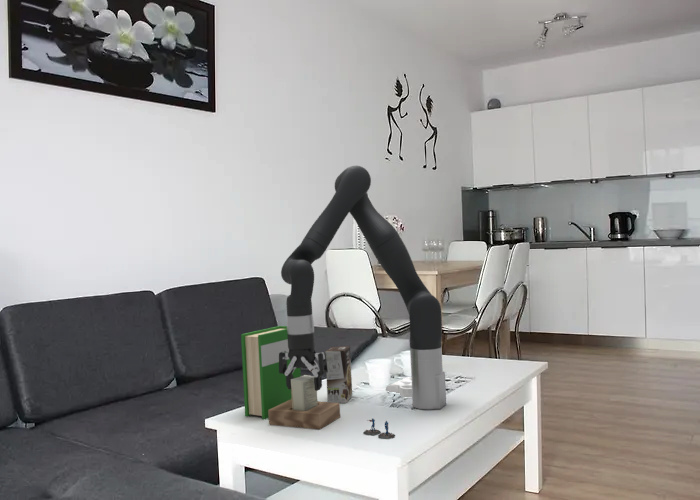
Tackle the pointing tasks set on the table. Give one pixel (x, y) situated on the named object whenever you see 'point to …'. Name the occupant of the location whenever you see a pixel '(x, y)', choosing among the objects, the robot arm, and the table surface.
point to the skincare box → (303, 393)
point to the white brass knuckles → (401, 387)
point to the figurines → (375, 431)
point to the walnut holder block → (304, 415)
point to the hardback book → (264, 370)
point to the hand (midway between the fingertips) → (304, 389)
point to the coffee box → (339, 374)
